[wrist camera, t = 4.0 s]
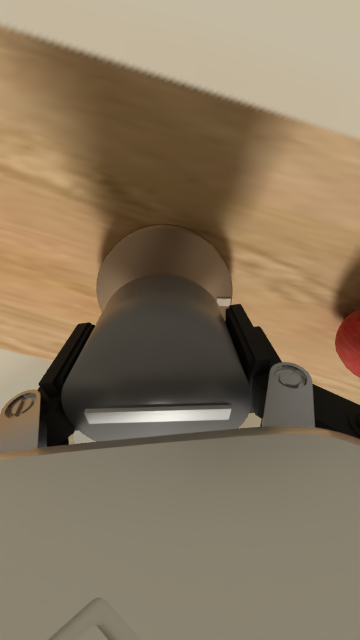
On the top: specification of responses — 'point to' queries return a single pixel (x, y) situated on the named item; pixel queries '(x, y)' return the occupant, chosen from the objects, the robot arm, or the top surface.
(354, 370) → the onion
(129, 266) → the post base
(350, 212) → the top surface
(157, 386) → the grey striped cylinder
